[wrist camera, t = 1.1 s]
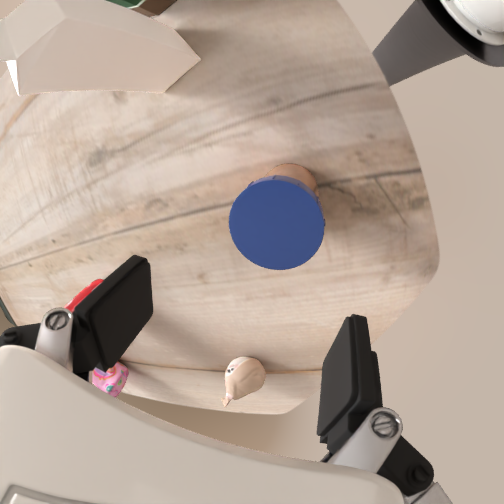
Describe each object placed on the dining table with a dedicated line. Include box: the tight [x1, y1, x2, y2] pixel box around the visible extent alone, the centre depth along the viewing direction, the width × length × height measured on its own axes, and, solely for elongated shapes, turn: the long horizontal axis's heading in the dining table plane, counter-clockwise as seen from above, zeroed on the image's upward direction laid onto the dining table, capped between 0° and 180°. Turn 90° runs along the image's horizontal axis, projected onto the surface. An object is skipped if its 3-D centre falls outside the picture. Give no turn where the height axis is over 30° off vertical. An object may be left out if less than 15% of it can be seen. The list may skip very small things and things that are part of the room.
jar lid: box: [229, 174, 325, 270], centre depth 20 cm, size 7×7×2 cm
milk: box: [0, 0, 201, 96], centre depth 14 cm, size 6×6×22 cm
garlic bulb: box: [221, 357, 266, 407], centre depth 38 cm, size 7×6×8 cm
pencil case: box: [92, 362, 129, 397], centre depth 49 cm, size 21×9×9 cm, turn 65°
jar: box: [264, 163, 319, 197], centre depth 24 cm, size 6×6×10 cm
